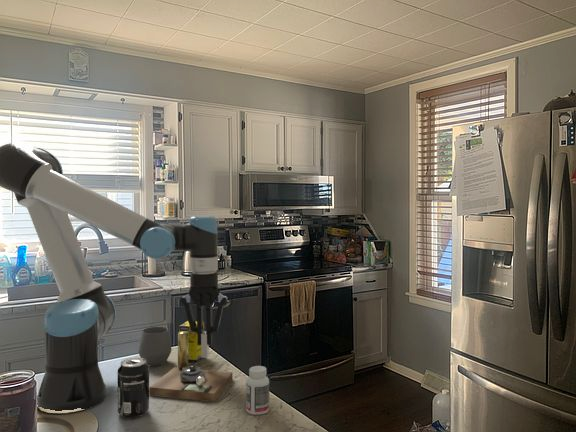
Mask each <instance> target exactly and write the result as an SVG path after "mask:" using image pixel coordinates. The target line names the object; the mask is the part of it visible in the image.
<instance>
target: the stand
mask: <svg viewBox="0 0 576 432" xmlns="http://www.w3.org/2000/svg"><path fill="white" fill-rule="evenodd" d="M202 370H203V371H204V372H205V383H204V384H203V387H198V386H197V385H196V383H184V382H182V381H181V380H180V374H181V373H182V369H180V368H178V367H176V366H175V367H173V368H171V369H170V370H169V371H168V372H167V373H166V374H164V375H163V376H162V377H160V378H159V379H158V380H157V381H155V382H154V383H153V384H151V385H149V396H155V397H156V396H157V397H163V398H164V397H166V398H175V399H184V400H194V401H204V402H211V403H212V402H215V401H216V400H217V399H218V398H219V396H220V395H221V394H222V393H223V391H225V390H226V388H227V387H228V386H229V384H230V383H231V382H232V381H233V372H231V371H230V372H229V371H221V370H210V369H209V370H207V369H202Z"/></svg>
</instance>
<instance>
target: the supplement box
mask: <svg viewBox="0 0 576 432" xmlns="http://www.w3.org/2000/svg"><path fill="white" fill-rule="evenodd" d="M195 322H196V325H197V321H195ZM203 329H204V330H203V332H205V322H204V321H203ZM178 330H179V331H178V332H181V331H187V332H188V363H198V361H200V360H201V359H202V358H201V345H198V335H197V333H196V332H192V331H191V329H190V325H189V322H188V320H187V321H185V322H183V323H182V324H180V325H179V326H178Z"/></svg>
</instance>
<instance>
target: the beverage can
mask: <svg viewBox="0 0 576 432" xmlns="http://www.w3.org/2000/svg"><path fill="white" fill-rule="evenodd" d="M149 387H150V366H148V365H147V364H146V359H144V358H141V357H129V358H126V359H123V360H122V361H120V366H119V367H118V368H117V413H118V415H119V416H120V417H123V418H124V419H129V420H131V419H138V418H141V417H143V416H144V415H145V414H146V413H147V412H149V410H150V395H149Z"/></svg>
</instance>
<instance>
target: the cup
mask: <svg viewBox="0 0 576 432" xmlns="http://www.w3.org/2000/svg"><path fill="white" fill-rule="evenodd" d="M171 353H172V343H171V338H170V332H169V328H168V327H166V326H150V327H146V328H143V329H142V331H141V335H140V341H139V346H138V355H139V358H144V359H146V364H147V365H148V366H149V367H157V366H162V365H164V364H166V362H167V361H168V359H169V357H170V356H171Z"/></svg>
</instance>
